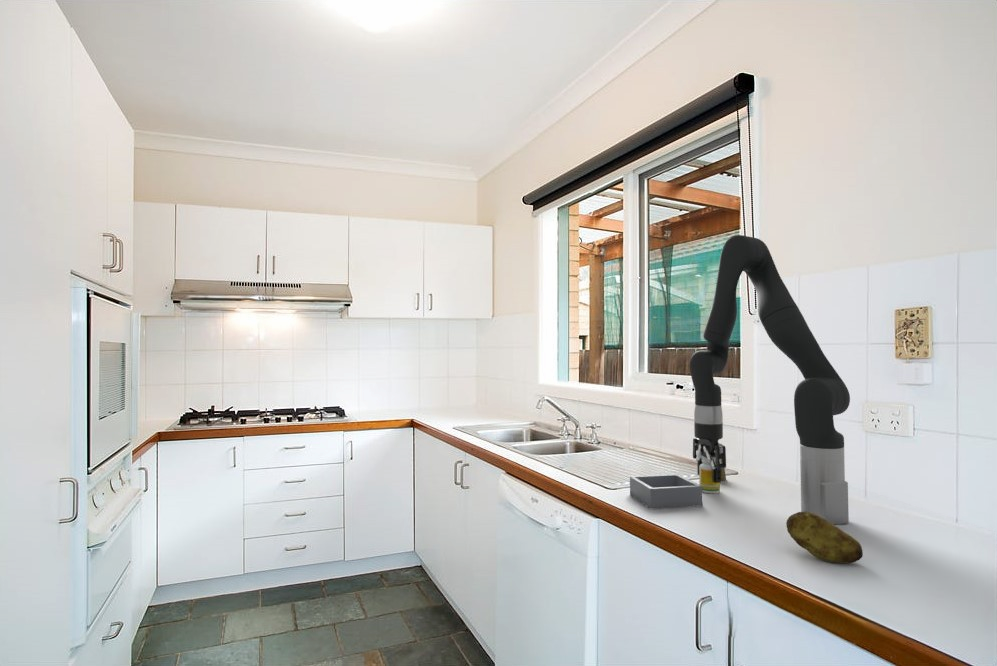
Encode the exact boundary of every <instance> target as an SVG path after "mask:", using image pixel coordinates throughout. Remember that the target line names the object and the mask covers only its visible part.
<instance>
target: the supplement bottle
mask: <svg viewBox="0 0 997 666" xmlns="http://www.w3.org/2000/svg"><path fill="white" fill-rule="evenodd" d="M702 462H703V463H702V464H700V466H699V475H698V476H699V477H698V478H699V481H698V482H699V485H701V486H702V493H705V494H718V493H720V490H721V488H720V486H721V484H720V483H721V482H720V483H714V482H713V478H712V469H713V468H712V465H711V462H709V461H708V458H706V457H704V456H702ZM715 464H716V462H715Z"/></svg>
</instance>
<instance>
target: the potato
mask: <svg viewBox="0 0 997 666" xmlns="http://www.w3.org/2000/svg"><path fill="white" fill-rule="evenodd" d="M785 525H786V529H787V532H788V534H789V536H790V537H791V538H792V539H793V540H794V542H795V543H796V544H797V545H798V546H800V547H801V548H802V549H804V550H805V551H807V552H808V553H809V554H811V555H812V556H813V557H815V558H817V559H819V560H822V561H825V562H830V563H837V564H853V563H856V562H859V561H860V560H861V559H862V558H863V556H864V555H863V554H864V553H863V551H864V550H863V547H862V545H861V543H860V541H858V540H857V539H856V538H855V537H853V536H851V535H850V534H848V533H847V532H845V531H844V530H842V529H840V528H839V527H837V526H836V524H832V523H830V522H828V521H827V520H825V519H824V518H822V517H821V516H819V515H817V514H814V513H810V512H801V511H798V512H796V513H793V514H791V515H790V516H789V517H788V518H787V519H786V523H785Z"/></svg>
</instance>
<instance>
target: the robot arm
mask: <svg viewBox="0 0 997 666" xmlns="http://www.w3.org/2000/svg"><path fill="white" fill-rule="evenodd" d="M743 272H744V273H746V276H747V277H748V278H749V280H750V282H751V284H752V285H753V287H754V289H755V292H756V296H757V297H756V298H757V314H758V317H759V320H760V322H761V324H762V327H763V329H764V331H765V332H766V334H767V336H768V337H769V339H770V341H771V342H772V343H773V344H774V346H776V348H777V349H778V350H779V351H780V352H782V353H783V354H784V355H785V356H786V357H787V358H788V359H789V360H790V361H792V363H794V364H795V366H796V368H798V370H799V371H800V373H801V374H802V376H803V380H802V381H800V382H799V383H798V384H797V386H796V388H795V390H794V395H793V407H794V420H795V429H796V430H795V431H796V432H797V435H798V437H799V438H798V439H799V464H800V465H799V468H800V469H799V471H800V473H799V475H800V478H799V479H800V508H801V511H800V512H810V513H814V514H817V515H819V516H821V517H822V518H824V519H825V520H827V521H828V522H830V523H832V524H833V525H841V524H842V525H843V524H849V523H850V521H849V518H850V517H849V515H850V514H849V512H850V511H849V483H848V481H846V473H845V472H846V471H845V470H846V469H845V466H846V465H845V437H844V435H843V434H842V433H841V432H839V431H837V430H836V428H835V423H834V422H835V421H834V416H837V415H841V414H843V413H845V412H846V411H847V410H848V408H849V407H850V402H851V397H850V396H851V395H850V391H849V389H848V387H847V385H846V384H845V382H844V381H843V379H842V377H841V375H839V373H838V372H837V371H836V369H835V368H834V367H833V365H832V364H831V362H830V361H829V359H828V357H827V356H826V355H825V353H824V352H823V350H822V349H821V346H820V345H819V343H818V341H817V339H816V338H815V336H814V334H813V332H812V331H811V329H810V327H809V325H808V323H807V321H806V320H805V317H804V315H803V314H802V312H801V310H800V309H799V307H798V305H797V303H796V302H795V300H794V298H793V297H792V295H791V293H790V291H789V290H788V288H787V286H786V284H785V283H784V281H783V279H782V277H781V276H780V274H779V272H778V268H777V266H776V264H775V262H774V259H773V256H772V254H771V251H770V250H769V248H768V245H767V244H766V243H765V242H764V241H763V240H761V239H760V238H757V237H752V236H748V235H741V234H735V235H733V236H730V237H729V238H728V239H726V241H725V242H724V243H723V246H722V249H721V252H720V257H719V264H718V271H717V278H716V282H715V283H716V284H715V290H714V296H713V300H712V304H711V309H710V311H709V315H708V319H707V321H706V325H705V328H704V331H703V339H704V340H705V341H707V346H706V350H703V349H702V350H698V351H694V353H692V355H691V357H690V358H689V372H690V373H689V374H690V376H691V380H692V385H693V388H694V411H693V412H694V413H693V415H694V417H693V418H694V419H693V420H694V424H693V425H694V438H692V439H693V440H692V458H693V460H695V463H696V466H697V474H696V475H697V476H699V466H700V464H702V463H703V462H702V456H704V457H706V458H708V461H709V462H711V465H712V468H713V469H712V478H713V482H714V483H721V469H722V468H725V469H726V468H727V455H726V454H727V453H726V451H727V449H726V446H725V445H723V446H719V440H721V439H723V438H724V437H723V436H724V427H723V424H724V422H723V421H724V418H723V416H724V415H723V408H722V388H721V386H720V385H718V384H716V383H715V379H714V376H715V375H718V374H721V373H722V372H723V371H724V369H725V367H726V366H727V362H728V359H729V346H730V344H729V343H730V339H731V336H732V333H733V330H734V327H735V324H736V321H737V315H738V307H737V306H738V305H737V302H738V301H737V287H738V284H739V280H740V278H741V275H742V273H743ZM721 459H722V463H721ZM715 462H716V464H715Z"/></svg>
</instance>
